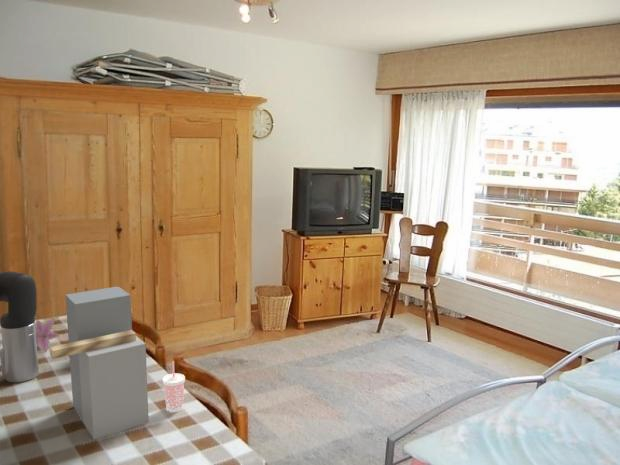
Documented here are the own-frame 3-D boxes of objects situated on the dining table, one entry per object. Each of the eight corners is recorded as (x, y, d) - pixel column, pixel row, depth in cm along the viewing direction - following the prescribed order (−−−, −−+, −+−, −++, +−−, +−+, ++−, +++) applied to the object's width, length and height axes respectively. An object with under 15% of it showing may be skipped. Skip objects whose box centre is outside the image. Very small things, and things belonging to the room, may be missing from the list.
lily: (21, 348, 189) (13, 331, 183) (50, 327, 197) (43, 310, 191) (42, 365, 185) (35, 347, 178) (71, 343, 192) (65, 326, 186)
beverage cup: (166, 415, 144) (164, 367, 141) (161, 405, 149) (159, 358, 147) (188, 410, 147) (187, 363, 144) (182, 400, 152) (181, 354, 149)
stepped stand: (93, 439, 132) (86, 315, 126) (73, 406, 148) (65, 294, 142) (148, 422, 140) (143, 304, 135) (123, 392, 156) (118, 286, 150)
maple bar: (53, 358, 126) (52, 351, 126) (50, 354, 129) (49, 347, 128) (136, 340, 138) (135, 333, 138) (132, 337, 141) (131, 329, 140)
